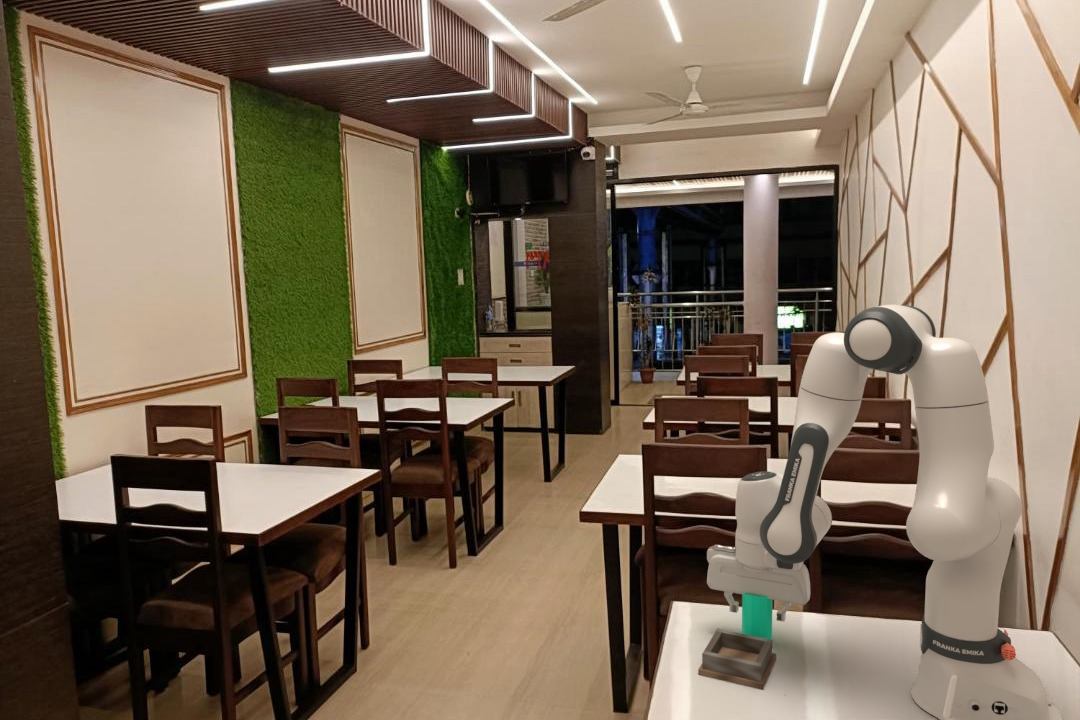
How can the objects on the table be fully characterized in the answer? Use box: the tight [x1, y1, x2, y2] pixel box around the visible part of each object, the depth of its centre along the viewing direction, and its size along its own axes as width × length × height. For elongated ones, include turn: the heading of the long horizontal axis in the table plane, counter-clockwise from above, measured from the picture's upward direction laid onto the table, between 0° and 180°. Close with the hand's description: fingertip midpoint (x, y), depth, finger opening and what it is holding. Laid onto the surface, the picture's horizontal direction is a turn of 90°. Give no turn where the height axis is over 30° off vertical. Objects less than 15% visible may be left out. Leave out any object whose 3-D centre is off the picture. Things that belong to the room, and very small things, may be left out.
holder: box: [697, 628, 777, 690], centre depth 147 cm, size 12×12×4 cm
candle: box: [741, 593, 774, 640], centre depth 157 cm, size 6×6×12 cm
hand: (757, 615), depth 157 cm, fingers open, 8 cm apart
